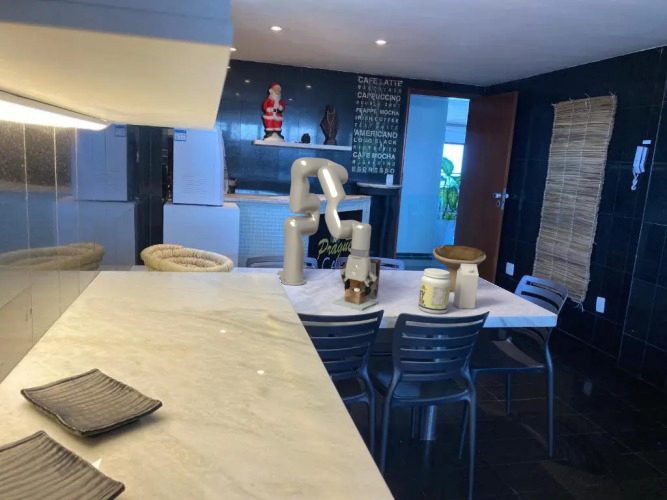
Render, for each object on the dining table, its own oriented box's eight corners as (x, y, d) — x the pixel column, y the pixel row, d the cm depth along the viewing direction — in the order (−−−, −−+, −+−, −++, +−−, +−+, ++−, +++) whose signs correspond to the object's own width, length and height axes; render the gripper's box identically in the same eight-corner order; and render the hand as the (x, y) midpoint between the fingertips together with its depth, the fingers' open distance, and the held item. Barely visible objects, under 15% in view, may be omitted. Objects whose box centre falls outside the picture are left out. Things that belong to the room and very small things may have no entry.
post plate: (333, 303, 210) (334, 288, 209) (350, 296, 222) (351, 282, 220) (361, 311, 203) (363, 295, 201) (378, 303, 214) (379, 289, 213)
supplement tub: (415, 305, 216) (419, 266, 213) (443, 306, 217) (447, 268, 214) (421, 314, 204) (425, 273, 201) (451, 315, 205) (455, 275, 202)
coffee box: (376, 298, 221) (379, 263, 218) (361, 297, 223) (364, 261, 220) (378, 293, 230) (381, 259, 227) (364, 292, 231) (367, 257, 228)
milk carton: (453, 303, 223) (458, 261, 219) (468, 304, 224) (474, 262, 220) (458, 308, 216) (463, 265, 212) (474, 309, 217) (479, 266, 213)
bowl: (419, 286, 250) (423, 246, 246) (445, 279, 268) (449, 242, 264) (465, 298, 233) (471, 256, 229) (490, 290, 251) (495, 251, 247)
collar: (344, 301, 211) (345, 289, 210) (353, 298, 217) (353, 286, 216) (358, 304, 207) (359, 293, 206) (367, 301, 213) (368, 290, 212)
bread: (342, 290, 233) (344, 266, 230) (339, 275, 261) (340, 253, 259) (375, 292, 233) (378, 268, 231) (368, 276, 262) (370, 255, 260)
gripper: (337, 250, 209) (334, 290, 213) (374, 257, 200) (370, 298, 204) (347, 248, 216) (344, 287, 219) (382, 255, 207) (379, 295, 210)
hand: (356, 292), depth 211 cm, fingers open, 9 cm apart
